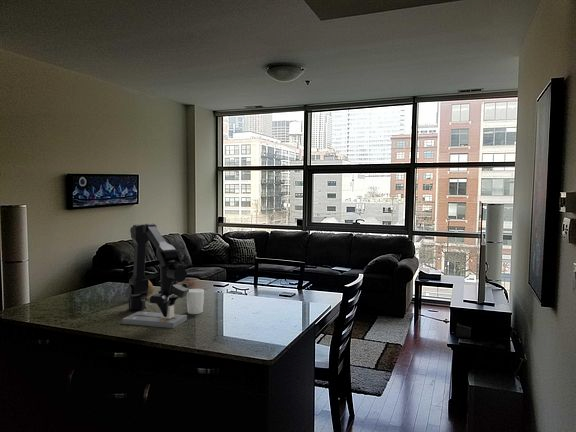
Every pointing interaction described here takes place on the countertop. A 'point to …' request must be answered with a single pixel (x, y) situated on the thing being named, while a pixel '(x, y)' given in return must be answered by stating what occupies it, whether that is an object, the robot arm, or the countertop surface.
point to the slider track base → (154, 319)
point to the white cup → (195, 301)
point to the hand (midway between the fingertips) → (167, 315)
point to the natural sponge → (149, 289)
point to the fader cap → (169, 312)
